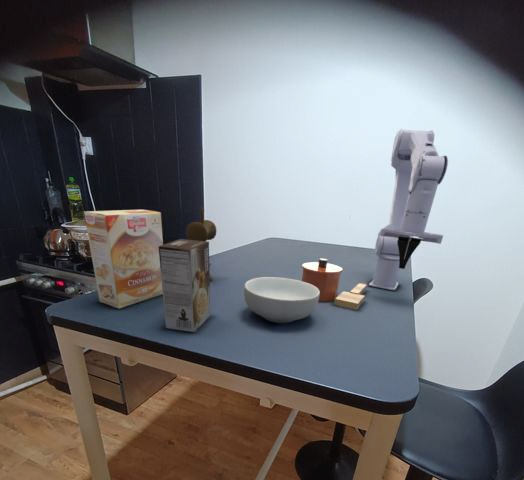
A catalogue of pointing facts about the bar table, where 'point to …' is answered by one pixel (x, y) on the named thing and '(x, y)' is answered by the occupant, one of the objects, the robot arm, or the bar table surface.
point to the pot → (323, 284)
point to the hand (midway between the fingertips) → (401, 267)
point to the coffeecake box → (125, 255)
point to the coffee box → (185, 283)
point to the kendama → (201, 230)
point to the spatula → (351, 297)
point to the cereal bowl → (281, 298)
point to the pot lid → (322, 267)
